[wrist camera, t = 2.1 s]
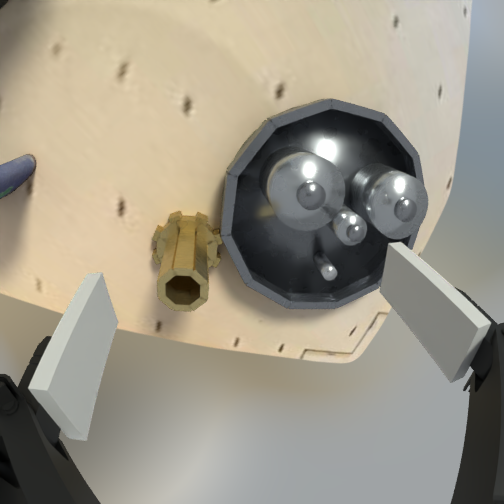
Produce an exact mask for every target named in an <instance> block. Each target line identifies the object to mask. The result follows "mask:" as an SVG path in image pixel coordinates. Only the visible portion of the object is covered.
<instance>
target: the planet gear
mask: <svg viewBox="0 0 504 504" xmlns="http://www.w3.org/2000/svg"><path fill="white" fill-rule="evenodd" d="M207 222H208V216H206V215H204V214H201V213H199V212H197V214H196V216H182V213H181V211H178V212H175V213H172V214H170V217H169V222H168V223H167V224H166V225H165V226H163V227H161V226H159V225H158V226H157V228H156V230H155V233H154V235H153V238H152V240H154V241H156V242H157V248H156V249H154V251H153V254H152V256H153V259H154V261H155V263H156V264H159V263H161V267H160V271H159V276H158V280H157V292H158V297H159V300H161V301H162V302H163V303H164V304H165V305H166V306H168V307H169V308H170V309H171V310H172V309H173V308H174V311H190V312H191V309H192V310H193V311H194V310H196V309H197V308H198V307H200V306H201V305H202V304H204V303H205V302H207V300H208V290H209V275H208V268H209V267H210V266H213V267H217V265H218V264H219V262H220V260H221V254H220V253H219V252H217V246H218V245H220V244H223V242H222V238H221V234H220V231H219V229H216V230H213V229H212V228H211V227H210V226H209V225H208V223H207Z"/></svg>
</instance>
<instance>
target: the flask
mask: <svg viewBox="0 0 504 504" xmlns="http://www.w3.org/2000/svg"><path fill="white" fill-rule="evenodd" d="M35 168H36V160H35V158H34V157H33V155H30V154H26V155H24V156H22V157H19V158H17V159H14V160H12V161H9V162H7V163H4V164H2V165H0V199H1V198H3V197H5V196H7V195H8V194H10V193H12V192H13V191H15V190H16V189H17V188H18V187H19V186H20V185H21V184H22V183H23V182H24V181H25V180H27V179H28V178H29V176H31V175H32V173H33V172H34V170H35Z"/></svg>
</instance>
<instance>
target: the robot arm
mask: <svg viewBox="0 0 504 504" xmlns="http://www.w3.org/2000/svg"><path fill="white" fill-rule="evenodd" d="M7 1H8V0H0V8H1V7H2V6H3V5H4V4H5V3H6V2H7ZM380 293H381V294H382V295H383V296H384V298H385V299H386V300H387V301H388V303H389V304H390V305H391V306H392V307H393V309H394V310H395V311H396V312H397V314H398V315H399V316H400V317H401V318H402V320H403V321H404V322H405V323H406V325H407V326H408V327H409V328H410V330H411V331H412V332H413V333H414V335H415V336H416V337H417V339H418V340H419V341H420V342H421V344H422V345H423V346H424V348H425V349H426V350H427V352H428V353H429V354H430V356H431V357H432V358H433V359H434V361H435V362H436V364H437V365H438V366H439V368H440V369H441V370H442V372H443V373H444V374H445V376H446V377H447V379H448V380H449V381H450V383H452V382H454V381H456V380H458V379H460V378H462V377H464V375H465V374H466V372H467V370H468V368H469V367H470V366H471V368H472V369H473V370H474V371H473V373H472V375H471V376H470V378H469V380H468V381H467V383H466V385H465V386H464V389H463V391H465V390H466V389H467V387H468V386H469V385H470V390H469V392H470V396H469V408H468V419H467V426H466V434H465V441H464V447H463V453H462V458H461V464H460V468H459V473H458V477H457V482H456V486H455V490H454V494H453V498H452V501H451V504H504V323H500V324H497V323H496V322H495V321H494V320H493V319H492V318H491V317H490V316H489V315H488V314H487V313H485V311H484V310H483V309H481V308H480V307H479V306H477V304H476V303H475V302H474V301H472V300H471V298H470V297H469V296H468V295H466V294H465V293H464V292H463V291H461V290H459V289H457V288H455V287H453V286H452V285H451V284H450V283H449V282H448V281H446V280H445V279H444V278H443V277H442V276H441V275H440V274H439V273H437V272H436V271H435V270H434V269H433V268H431V267H430V266H429V265H428V264H427V263H426V262H425V261H423V260H422V259H421V258H420V257H419V256H417V255H416V254H415V253H414V252H413V251H411V250H410V249H409V248H408V247H406V246H405V245H404V244H403V243H401V242H396V243H388V248H387V255H386V261H385V266H384V272H383V277H382V282H381V287H380ZM117 324H118V320H117V317H116V314H115V311H114V308H113V305H112V302H111V299H110V296H109V293H108V290H107V287H106V284H105V280H104V277H103V274H102V272H101V273H90V274H87V275H86V277H85V278H84V280H83V282H82V283H81V285H80V287H79V288H78V290H77V292H76V294H75V295H74V297H73V299H72V301H71V302H70V304H69V306H68V308H67V309H66V311H65V313H64V315H63V317H62V319H61V320H60V322H59V324H58V326H57V328H56V330H55V332H54V334H53V336H47V337H45V338H44V339H43V341H42V342H41V343H40V344H39V345H38V346H37V348H36V350H35V352H34V354H33V357H32V358H31V360H30V362H29V363H30V364H29V365H28V366H27V368H26V370H25V373H24V375H23V377H22V379H21V381H20V383H19V386H18V388H17V386H16V385H15V384H14V382H13V381H12V379H11V378H10V376H8V375H6V374H0V504H100V502H99V501H98V499H97V498H96V496H95V495H94V494H93V492H92V490H91V489H90V487H89V486H88V485H87V483H86V481H85V480H84V478H83V477H82V475H81V474H80V472H79V470H78V469H77V467H76V465H75V464H74V462H73V460H72V459H71V457H70V455H69V453H68V452H67V450H66V448H65V446H64V444H63V443H62V441H61V440H60V439H59V433H60V430H62V432H63V433H64V434H65V435H66V436H67V437H68V438H70V439H77V440H87V437H88V432H89V427H90V423H91V418H92V414H93V409H94V406H95V401H96V397H97V393H98V390H99V385H100V382H101V378H102V374H103V371H104V367H105V363H106V360H107V357H108V353H109V350H110V347H111V343H112V340H113V337H114V334H115V331H116V328H117Z"/></svg>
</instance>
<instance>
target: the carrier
mask: <svg viewBox="0 0 504 504" xmlns="http://www.w3.org/2000/svg"><path fill="white" fill-rule="evenodd" d="M227 170H228V171H226V176H225V184H224V189H223V195H222V212H221V221H220V233H221V238H222V240H223V242H224V244H225V246H226V248H227V250H228V252H229V254H230V256H231V258H232V260H233V262H234V264H235V266H236V267H237V269H238V271H239V273H240V275H241V277H242V279H243V281H244V283H245V284H246V285H247V286H248V287H250V288H252V289H254V290H255V291H257V292H259V293H261V294H262V295H264V296H266V297H268V298H270V299H271V300H273V301H275V302H277V303H278V304H280V305H282V306H284V307H286V308H289V309H335V308H338V307H341V306H343V305H345V304H347V303H349V302H351V301H353V300H355V299H358V298H360V297H362V296H364V295H366V294H368V293H370V292H372V291H374V290H376V289H378V288H379V286H380V287H381V282H382V277H383V272H384V266H385V261H386V255H387V248H388V243H396V242H401V243H403V244H404V245H405V246H406V247H408V248H409V249H410V250H412V249H413V246H414V243H415V240H416V237H417V234H418V231H419V227H420V225H421V224H422V222H423V220H424V218H425V215H426V212H427V208H428V196H427V192H426V189H425V187H424V181H423V175H422V169H421V163H420V158H419V155H418V152H417V151H416V150H415V148H414V147H413V146H412V145H411V143H410V142H409V141H408V140H407V138H406V137H405V136H404V135H403V133H402V132H401V131H400V130H399V129H398V127H397V126H396V125H395V124H394V123H393V122H392V120H391V119H390V118H389V117H388V116H387V115H385V114H384V113H381V112H378V111H375V110H372V109H368V108H365V107H362V106H358V105H354V104H351V103H347V102H343V101H340V100H336V99H321V100H317V101H314V102H311V103H308V104H305V105H301V106H297V107H294V108H291V109H289V110H286V111H284V112H282V113H279V114H277V115H275V116H272V117H269V118H267V120H264V122H263V123H262V124H261V125H260V127H259V128H258V129H257V130H256V131H254V132H253V134H252V135H251V136H250V137H249V138H248V139H247V140H246V141H245V142H244V144H243V145H242V147H241V148H240V150H239V151H238V153H237V154H236V156H235V158H234V160H233V161H232V162H231V164H230V165H229V166H228V168H227Z"/></svg>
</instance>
